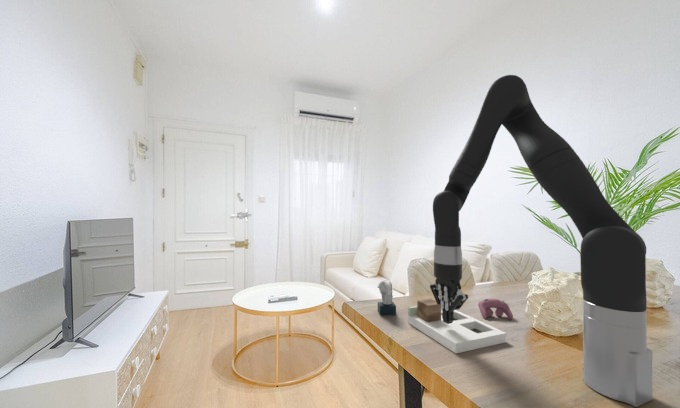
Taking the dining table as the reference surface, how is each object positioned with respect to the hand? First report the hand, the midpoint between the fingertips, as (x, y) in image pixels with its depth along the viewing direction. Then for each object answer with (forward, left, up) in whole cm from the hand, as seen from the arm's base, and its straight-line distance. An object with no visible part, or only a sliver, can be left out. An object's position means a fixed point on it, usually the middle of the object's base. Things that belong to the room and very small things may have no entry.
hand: (447, 322), depth 78 cm
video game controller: (+7, -27, -5) cm, 28 cm away
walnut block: (+8, 0, -2) cm, 8 cm away
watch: (+22, +7, -4) cm, 24 cm away
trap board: (+2, -4, -4) cm, 7 cm away
